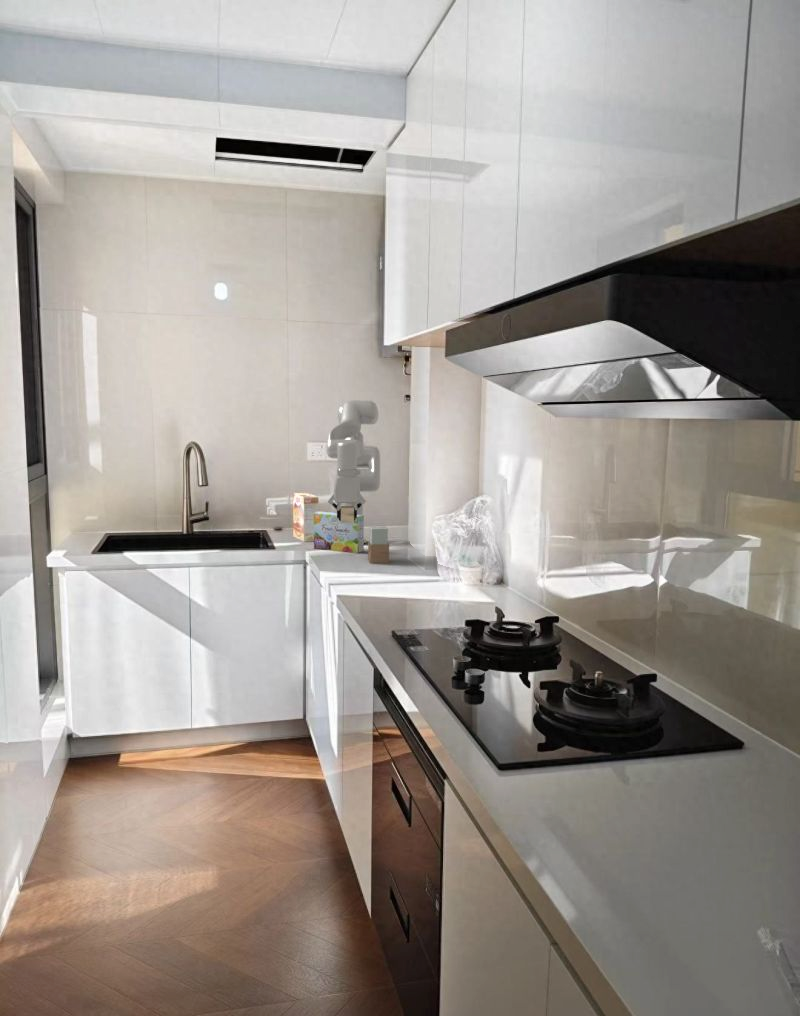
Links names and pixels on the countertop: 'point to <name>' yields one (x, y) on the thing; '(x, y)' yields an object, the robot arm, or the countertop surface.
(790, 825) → the countertop surface
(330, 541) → the snack box
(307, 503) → the coffeecake box
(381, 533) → the sage top block
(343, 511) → the ash block
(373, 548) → the walnut base block
